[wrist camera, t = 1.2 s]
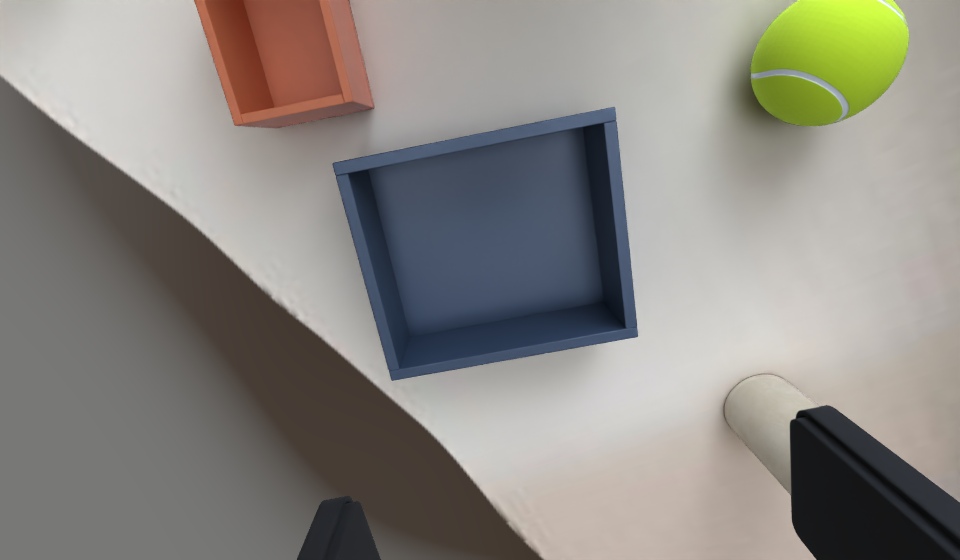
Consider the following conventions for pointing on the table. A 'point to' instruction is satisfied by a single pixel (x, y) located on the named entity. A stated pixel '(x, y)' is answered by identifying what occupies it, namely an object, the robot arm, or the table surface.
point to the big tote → (494, 244)
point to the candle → (766, 420)
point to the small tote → (286, 59)
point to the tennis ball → (828, 59)
